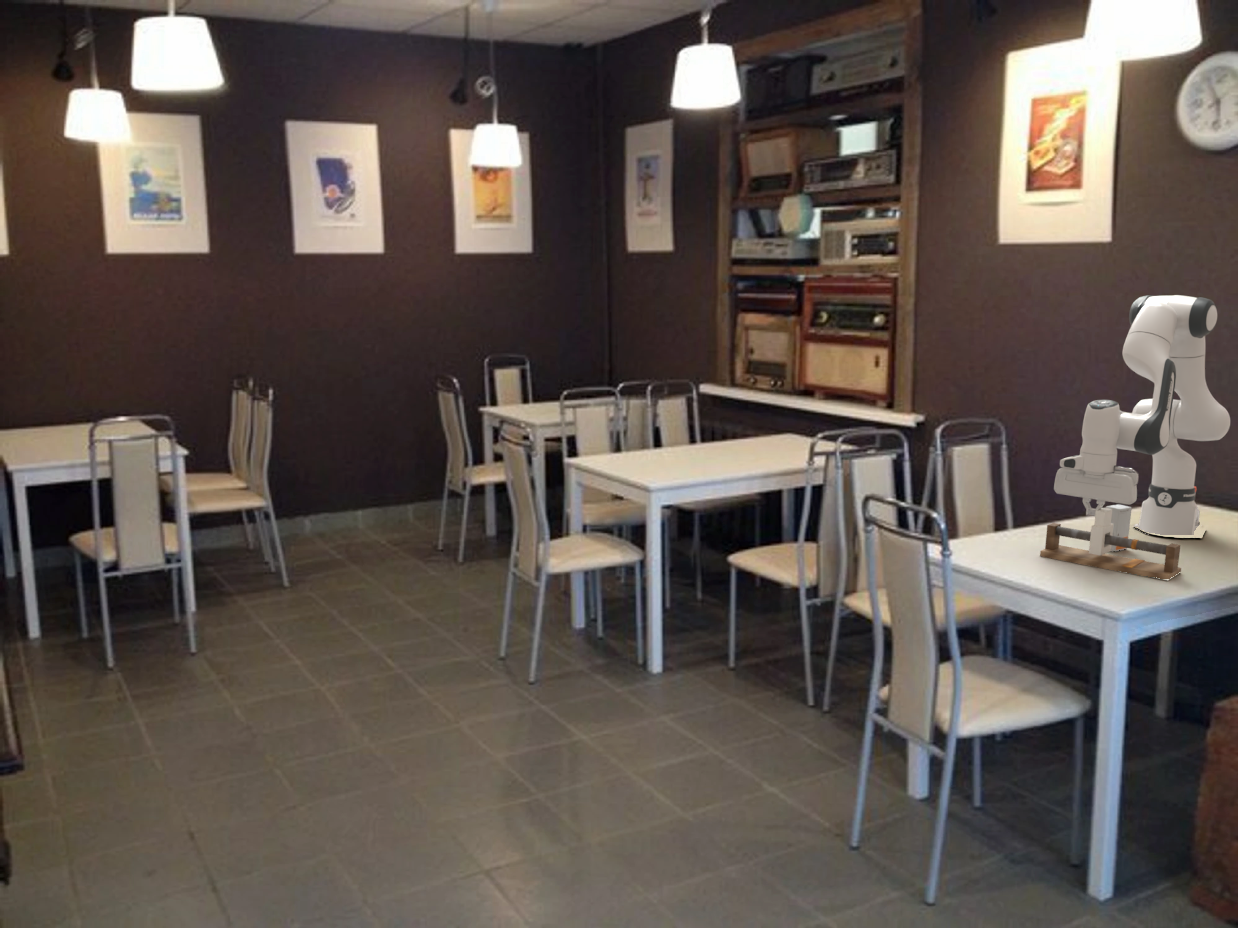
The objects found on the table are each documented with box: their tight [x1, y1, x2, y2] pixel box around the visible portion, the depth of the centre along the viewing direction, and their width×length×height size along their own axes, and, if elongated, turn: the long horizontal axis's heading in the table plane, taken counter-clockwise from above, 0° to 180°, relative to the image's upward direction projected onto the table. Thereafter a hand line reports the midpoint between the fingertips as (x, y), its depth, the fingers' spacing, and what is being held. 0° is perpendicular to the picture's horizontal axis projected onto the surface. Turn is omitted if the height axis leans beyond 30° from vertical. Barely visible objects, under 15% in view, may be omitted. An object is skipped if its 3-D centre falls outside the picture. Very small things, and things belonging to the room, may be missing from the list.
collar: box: [1088, 507, 1114, 555], centre depth 291 cm, size 3×7×11 cm, turn 137°
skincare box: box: [1105, 503, 1133, 552], centre depth 306 cm, size 6×4×12 cm
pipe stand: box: [1039, 522, 1182, 579], centre depth 290 cm, size 32×10×8 cm, turn 47°
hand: (1092, 515), depth 292 cm, fingers closed
